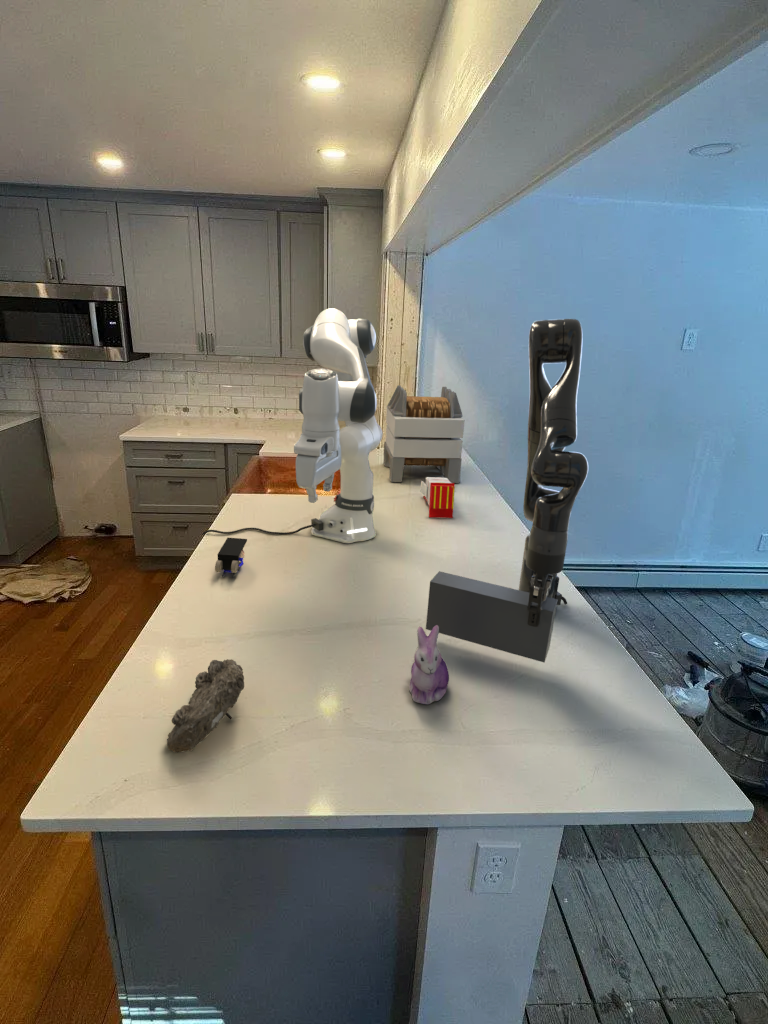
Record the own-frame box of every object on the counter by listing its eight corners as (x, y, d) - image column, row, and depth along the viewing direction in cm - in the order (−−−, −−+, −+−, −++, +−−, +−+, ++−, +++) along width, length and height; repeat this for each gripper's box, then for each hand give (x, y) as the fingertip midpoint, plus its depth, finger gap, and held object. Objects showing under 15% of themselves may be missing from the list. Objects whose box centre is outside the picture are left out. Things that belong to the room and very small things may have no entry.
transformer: (382, 463, 289) (386, 382, 275) (445, 464, 293) (451, 384, 279) (390, 482, 257) (394, 392, 243) (460, 483, 261) (468, 394, 247)
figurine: (421, 712, 112) (426, 647, 106) (396, 683, 120) (400, 621, 115) (461, 699, 116) (467, 636, 111) (434, 672, 124) (439, 611, 119)
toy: (448, 473, 241) (459, 484, 212) (446, 504, 244) (457, 519, 215) (419, 472, 241) (426, 483, 211) (418, 503, 243) (425, 518, 214)
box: (425, 629, 131) (429, 581, 127) (434, 617, 136) (439, 571, 132) (544, 662, 120) (553, 611, 116) (549, 648, 126) (557, 599, 122)
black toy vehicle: (238, 584, 162) (249, 557, 175) (236, 562, 158) (247, 536, 172) (215, 584, 161) (227, 556, 175) (212, 561, 158) (225, 535, 171)
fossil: (192, 660, 117) (244, 628, 112) (224, 691, 120) (276, 661, 115) (142, 746, 98) (202, 712, 93) (182, 779, 101) (242, 748, 96)
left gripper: (324, 431, 144) (324, 483, 149) (290, 448, 125) (291, 507, 130) (348, 433, 142) (346, 486, 147) (316, 451, 124) (316, 510, 128)
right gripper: (560, 563, 109) (547, 639, 114) (570, 538, 121) (558, 608, 127) (521, 554, 111) (510, 629, 117) (535, 532, 124) (525, 600, 129)
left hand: (320, 496), depth 138 cm, fingers open, 8 cm apart
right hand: (535, 618), depth 122 cm, fingers closed on box, 6 cm apart
